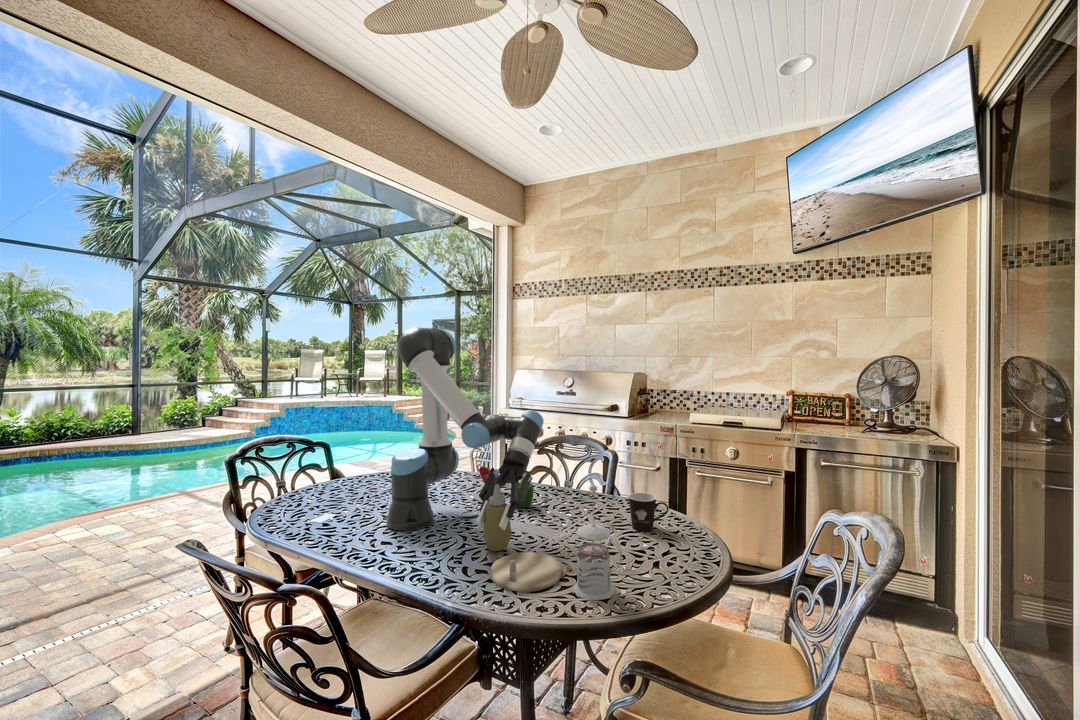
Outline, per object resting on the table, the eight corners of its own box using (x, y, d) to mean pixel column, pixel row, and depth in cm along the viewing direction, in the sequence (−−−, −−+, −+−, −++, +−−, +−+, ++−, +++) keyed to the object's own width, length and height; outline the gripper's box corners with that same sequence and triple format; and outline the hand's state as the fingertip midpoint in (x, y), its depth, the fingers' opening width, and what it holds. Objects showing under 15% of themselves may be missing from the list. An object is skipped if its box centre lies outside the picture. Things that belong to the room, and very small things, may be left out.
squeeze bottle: (477, 550, 133) (477, 487, 132) (490, 539, 140) (490, 479, 140) (504, 555, 130) (503, 490, 129) (515, 543, 137) (515, 482, 137)
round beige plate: (477, 581, 116) (476, 557, 116) (512, 553, 133) (512, 531, 133) (543, 598, 109) (542, 572, 108) (572, 565, 125) (572, 543, 125)
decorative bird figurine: (478, 489, 193) (478, 464, 193) (520, 492, 188) (519, 467, 188) (475, 491, 190) (475, 466, 190) (517, 494, 186) (517, 469, 185)
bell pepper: (531, 510, 167) (530, 482, 167) (508, 509, 169) (508, 481, 168) (535, 503, 175) (535, 476, 175) (514, 501, 177) (514, 475, 177)
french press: (577, 576, 119) (577, 478, 118) (624, 583, 115) (624, 481, 115) (568, 596, 109) (568, 489, 109) (619, 604, 106) (618, 493, 105)
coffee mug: (623, 528, 150) (623, 497, 150) (637, 520, 156) (637, 491, 156) (656, 538, 142) (656, 505, 142) (670, 530, 148) (670, 498, 148)
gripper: (550, 465, 144) (525, 538, 130) (495, 458, 152) (467, 526, 138) (543, 451, 139) (516, 525, 125) (487, 445, 147) (456, 514, 133)
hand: (490, 525), depth 131 cm, fingers closed on squeeze bottle, 6 cm apart
